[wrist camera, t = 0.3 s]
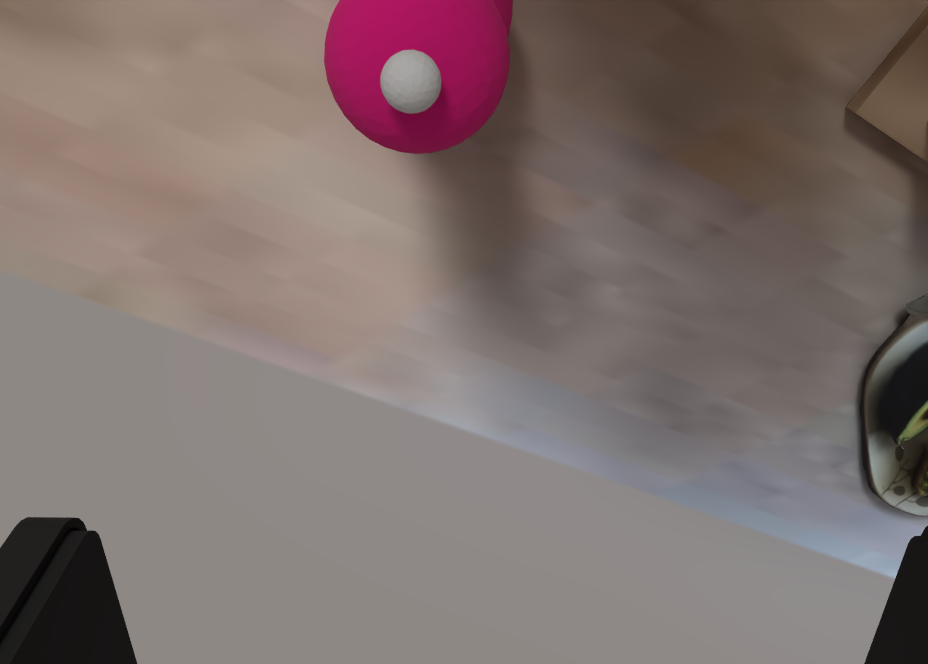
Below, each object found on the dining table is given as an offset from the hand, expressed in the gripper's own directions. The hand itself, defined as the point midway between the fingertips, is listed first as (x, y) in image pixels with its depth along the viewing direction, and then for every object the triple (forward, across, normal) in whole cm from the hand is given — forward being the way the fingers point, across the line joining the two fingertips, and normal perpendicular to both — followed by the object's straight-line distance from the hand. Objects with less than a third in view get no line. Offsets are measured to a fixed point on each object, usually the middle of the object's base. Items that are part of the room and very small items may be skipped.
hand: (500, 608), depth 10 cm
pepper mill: (+37, +2, -2) cm, 37 cm away
